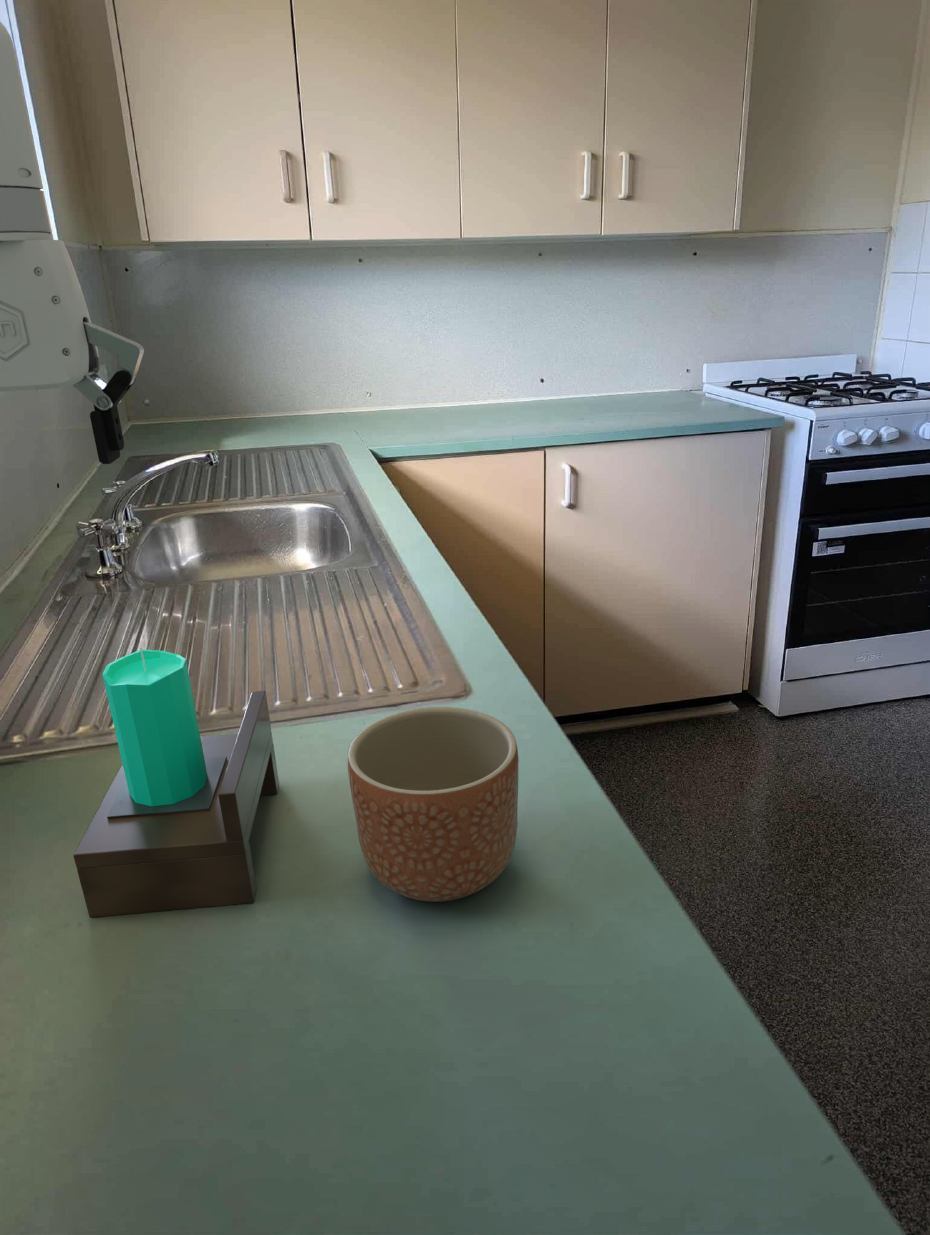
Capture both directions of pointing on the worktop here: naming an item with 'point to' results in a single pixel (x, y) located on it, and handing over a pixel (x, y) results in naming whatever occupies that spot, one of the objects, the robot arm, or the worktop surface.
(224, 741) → the wooden chair-shaped stand
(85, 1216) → the worktop surface
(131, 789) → the candle
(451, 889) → the planter
